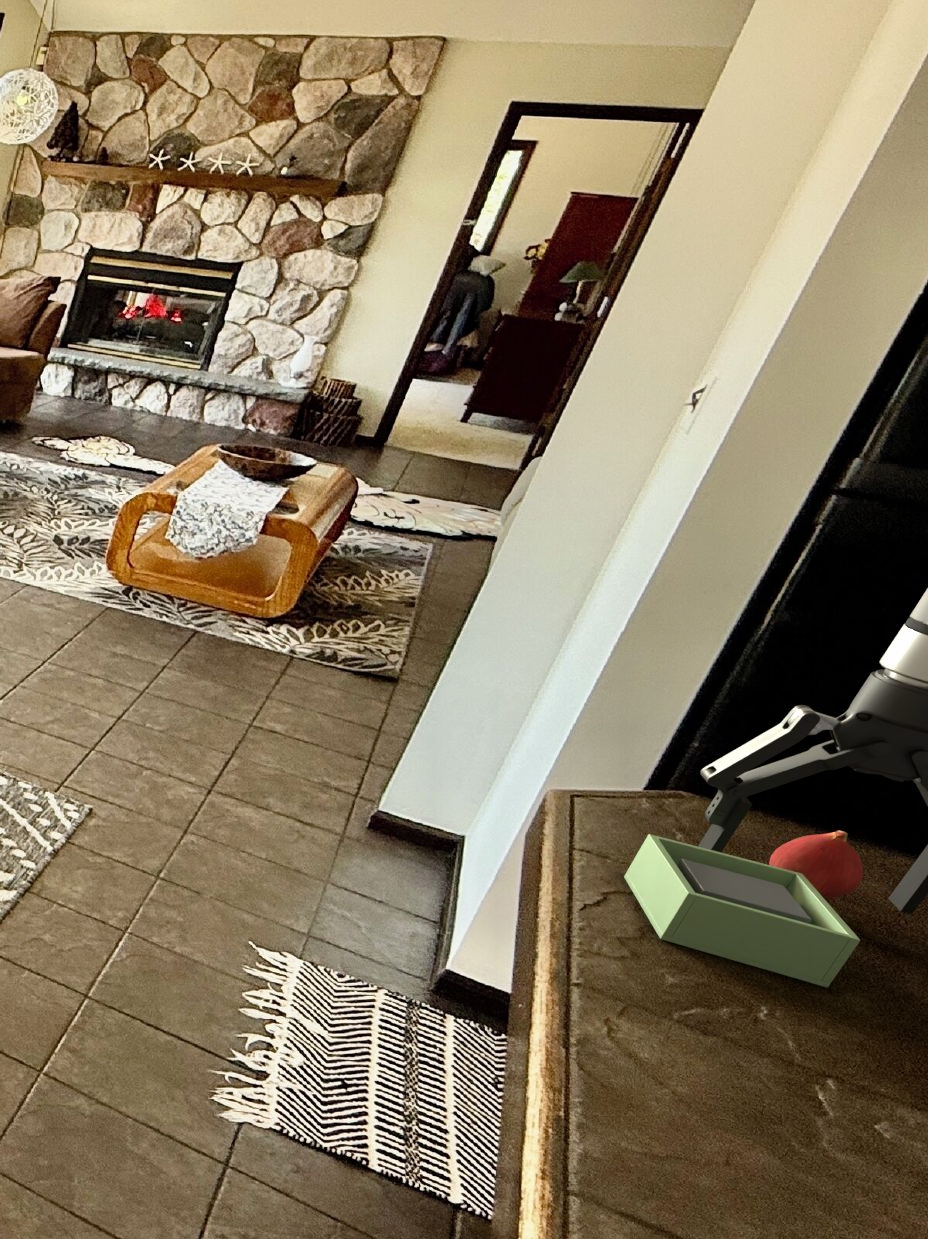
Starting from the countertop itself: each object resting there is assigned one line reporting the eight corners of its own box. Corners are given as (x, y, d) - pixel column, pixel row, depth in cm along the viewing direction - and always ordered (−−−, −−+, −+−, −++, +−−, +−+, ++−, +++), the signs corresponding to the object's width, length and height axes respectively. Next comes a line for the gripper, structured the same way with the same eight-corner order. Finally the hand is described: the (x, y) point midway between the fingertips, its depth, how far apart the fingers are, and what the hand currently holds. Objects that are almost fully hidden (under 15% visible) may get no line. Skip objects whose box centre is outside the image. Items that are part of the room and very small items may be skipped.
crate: (773, 917, 109) (802, 873, 107) (827, 987, 99) (861, 940, 97) (623, 876, 115) (648, 833, 113) (660, 939, 104) (688, 892, 102)
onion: (735, 881, 116) (779, 812, 112) (792, 885, 116) (837, 817, 112) (796, 915, 110) (843, 843, 107) (855, 920, 110) (905, 849, 107)
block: (760, 920, 108) (783, 884, 106) (787, 957, 102) (812, 919, 101) (660, 893, 111) (681, 858, 109) (681, 926, 106) (703, 890, 104)
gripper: (1122, 712, 101) (967, 911, 109) (734, 633, 112) (623, 818, 121) (1175, 741, 95) (1007, 949, 104) (760, 654, 107) (641, 848, 115)
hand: (800, 879), depth 112 cm, fingers open, 13 cm apart
